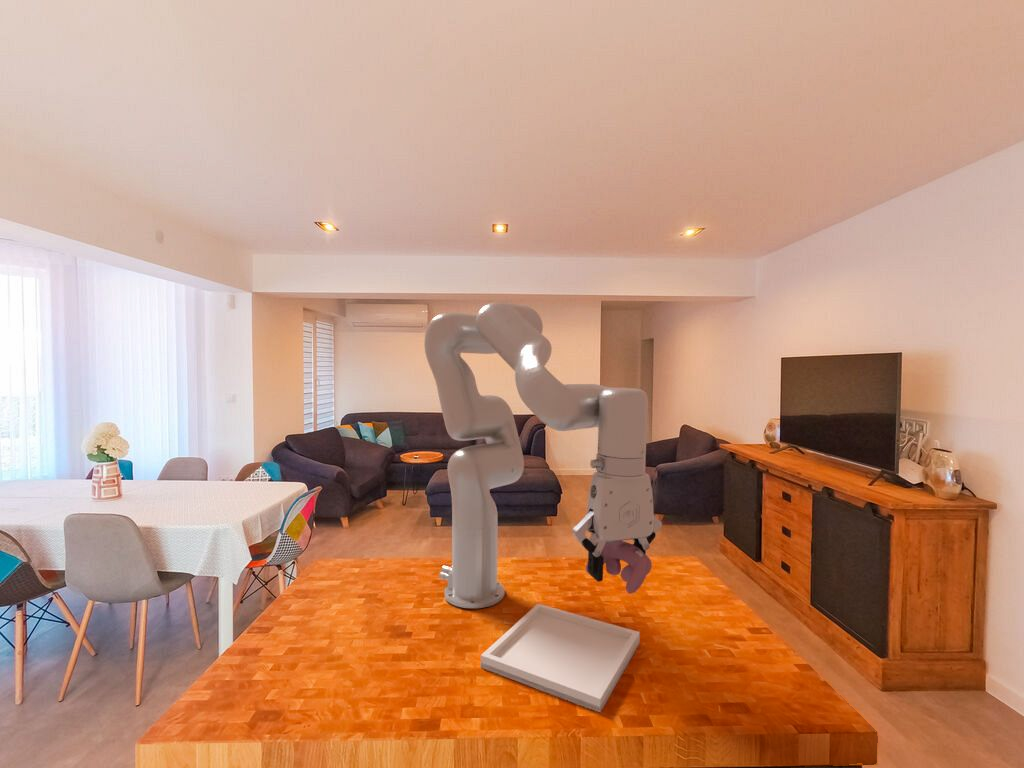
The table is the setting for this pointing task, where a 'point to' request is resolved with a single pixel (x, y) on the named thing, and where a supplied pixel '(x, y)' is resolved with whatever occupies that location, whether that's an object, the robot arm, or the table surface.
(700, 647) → the table surface
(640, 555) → the video game controller
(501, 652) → the tray
